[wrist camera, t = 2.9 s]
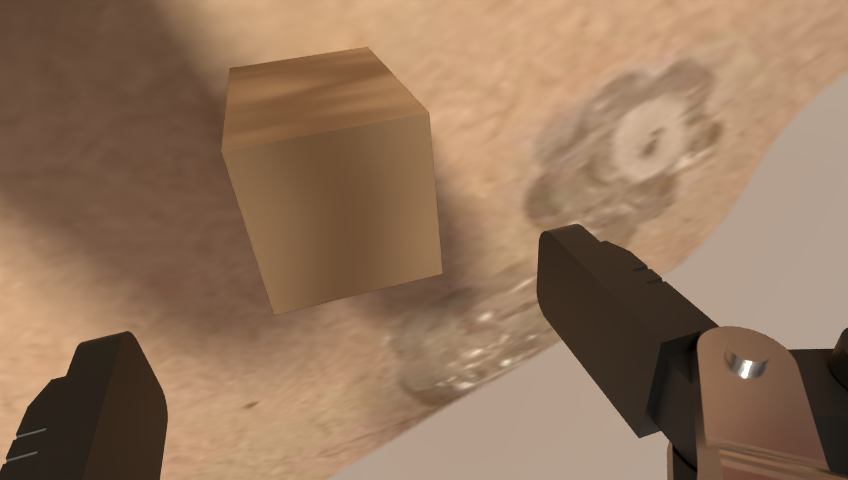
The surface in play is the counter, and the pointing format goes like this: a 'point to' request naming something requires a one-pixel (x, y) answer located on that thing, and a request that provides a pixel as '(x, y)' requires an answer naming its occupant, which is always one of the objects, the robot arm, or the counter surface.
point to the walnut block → (331, 176)
